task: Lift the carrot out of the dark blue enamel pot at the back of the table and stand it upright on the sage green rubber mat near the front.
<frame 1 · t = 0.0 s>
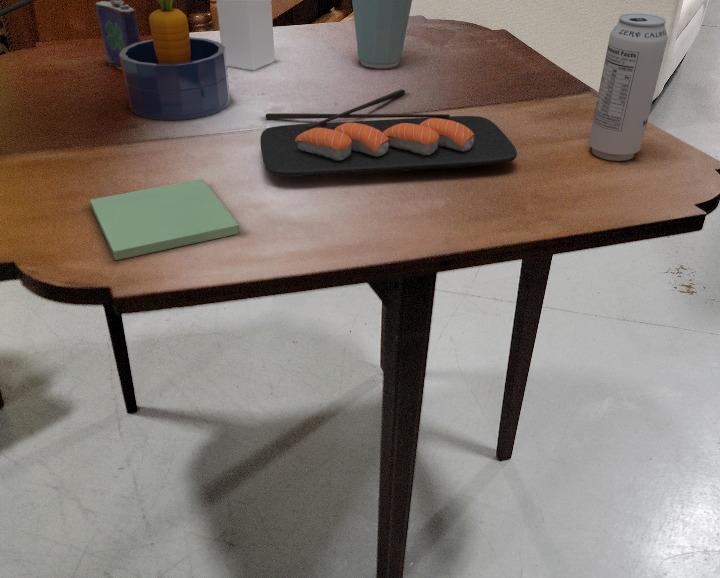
disposable coffee cup: (380, 64, 117), on the table
mat: (163, 220, 74), on the table
milk: (249, 64, 117), on the table
energy drink can: (612, 154, 88), on the table
pot: (180, 103, 101), on the table
flask: (127, 68, 115), on the table
carrot: (180, 100, 101), resting in pot
sushi plate: (374, 135, 93), on the table
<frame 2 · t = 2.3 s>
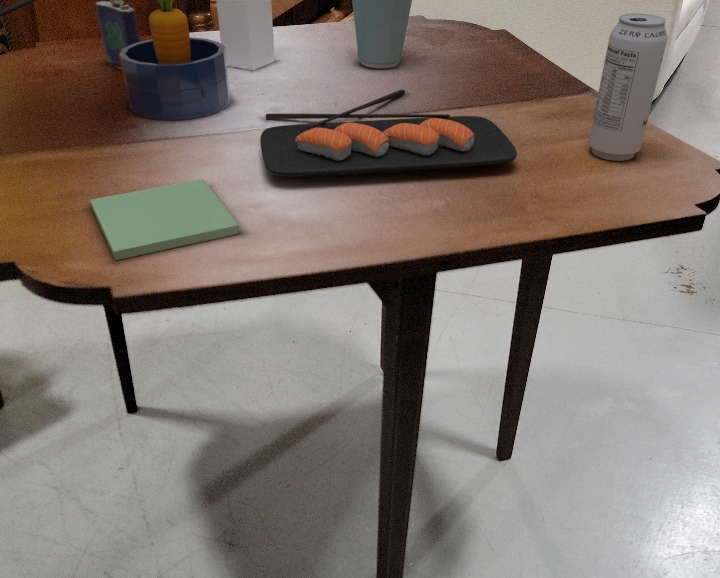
nothing on the table moved.
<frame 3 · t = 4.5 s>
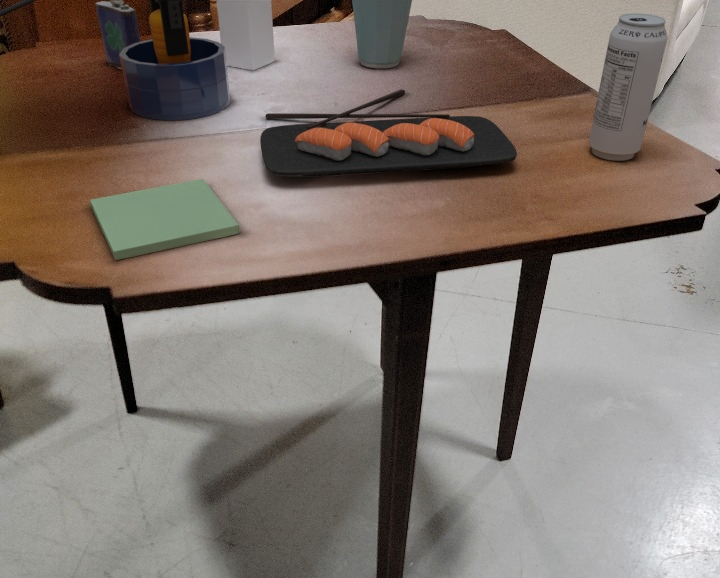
hand: (172, 48, 97), 7 cm above the table, tool pointing down, fingers closed on carrot, 5 cm apart
carrot: (179, 100, 101), resting in pot, touching gripper
everything else where it was.
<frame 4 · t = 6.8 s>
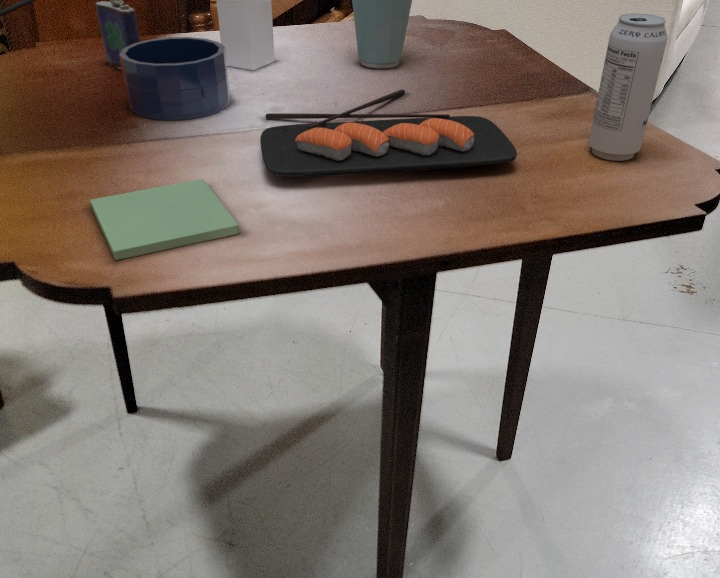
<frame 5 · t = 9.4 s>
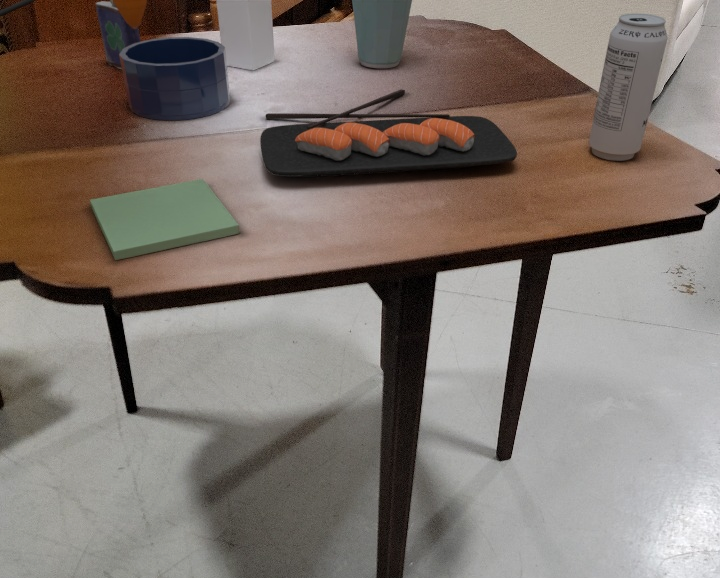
carrot: (135, 30, 65), point 17 cm above the table, touching gripper
everything else where it was.
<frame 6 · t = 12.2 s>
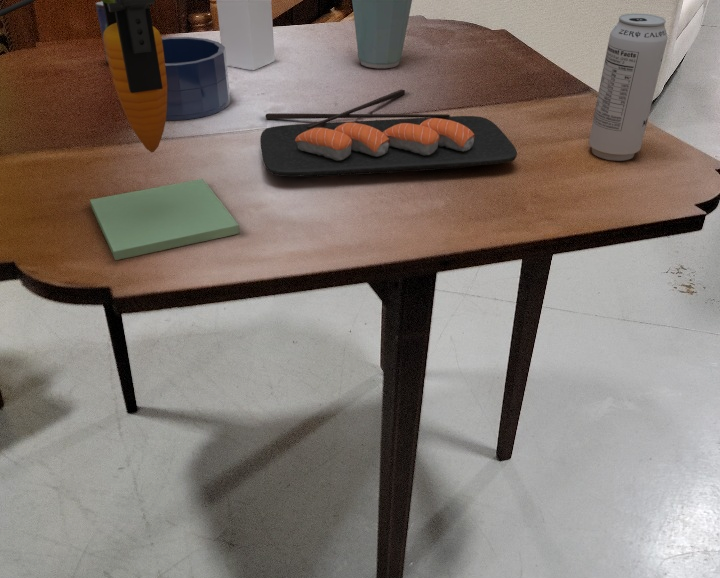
hand: (139, 80, 65), 14 cm above the table, tool pointing down, fingers closed on carrot, 5 cm apart
carrot: (152, 153, 69), point 7 cm above the table, touching gripper
everything else where it was.
when the fingers open (8 cm above the table, at t = 14.2 s): carrot stays where it is, resting on mat.
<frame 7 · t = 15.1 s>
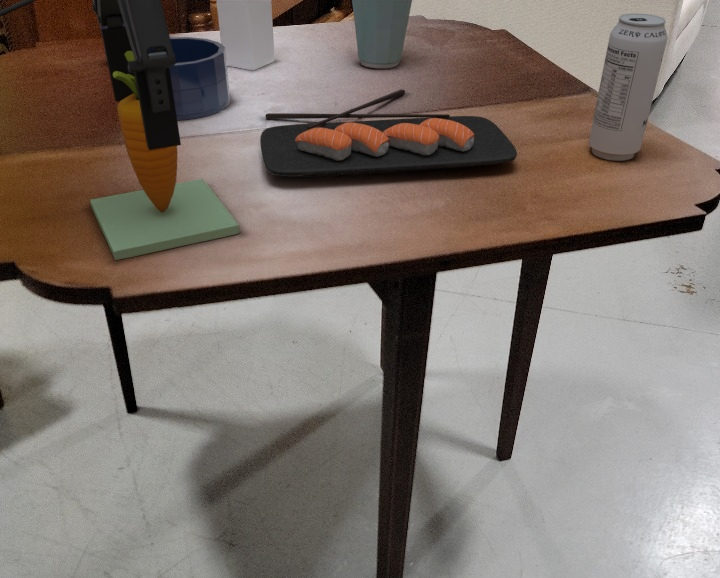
hand: (145, 121, 67), 10 cm above the table, tool pointing down, fingers open, 13 cm apart
carrot: (163, 213, 73), point 1 cm above the table, touching mat
everything else where it was.
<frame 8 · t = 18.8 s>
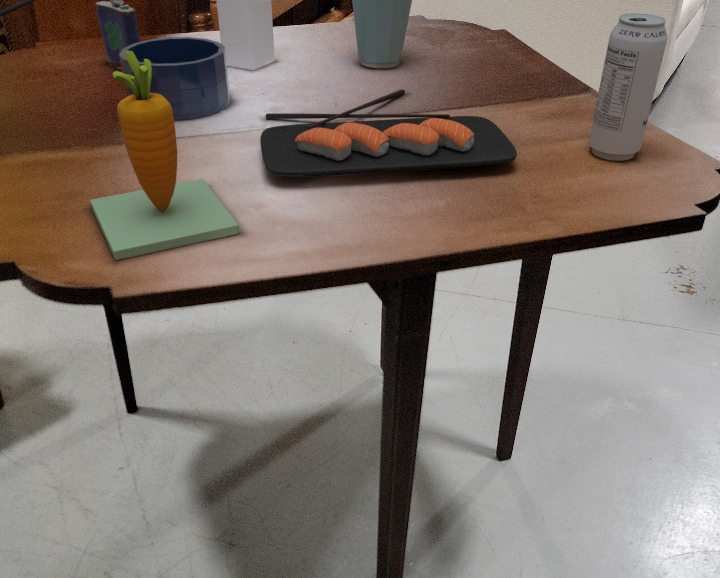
nothing on the table moved.
at the end: carrot inside the target area on the mat (0.1 cm from its centre), point 0.8 cm above the mat's base; carrot tilted 0° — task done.
